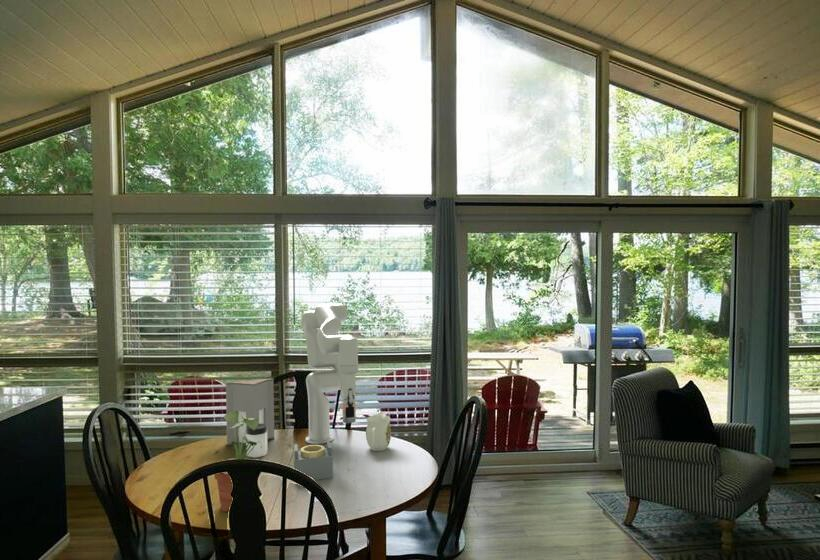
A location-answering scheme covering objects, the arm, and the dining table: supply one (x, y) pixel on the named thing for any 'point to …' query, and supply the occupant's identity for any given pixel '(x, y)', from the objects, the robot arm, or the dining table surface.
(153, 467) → the dining table surface
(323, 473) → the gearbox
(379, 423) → the pitcher
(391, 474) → the dining table surface
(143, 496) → the dining table surface
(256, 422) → the potted plant
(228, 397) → the cabinet
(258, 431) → the jar
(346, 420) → the cocktail shaker
